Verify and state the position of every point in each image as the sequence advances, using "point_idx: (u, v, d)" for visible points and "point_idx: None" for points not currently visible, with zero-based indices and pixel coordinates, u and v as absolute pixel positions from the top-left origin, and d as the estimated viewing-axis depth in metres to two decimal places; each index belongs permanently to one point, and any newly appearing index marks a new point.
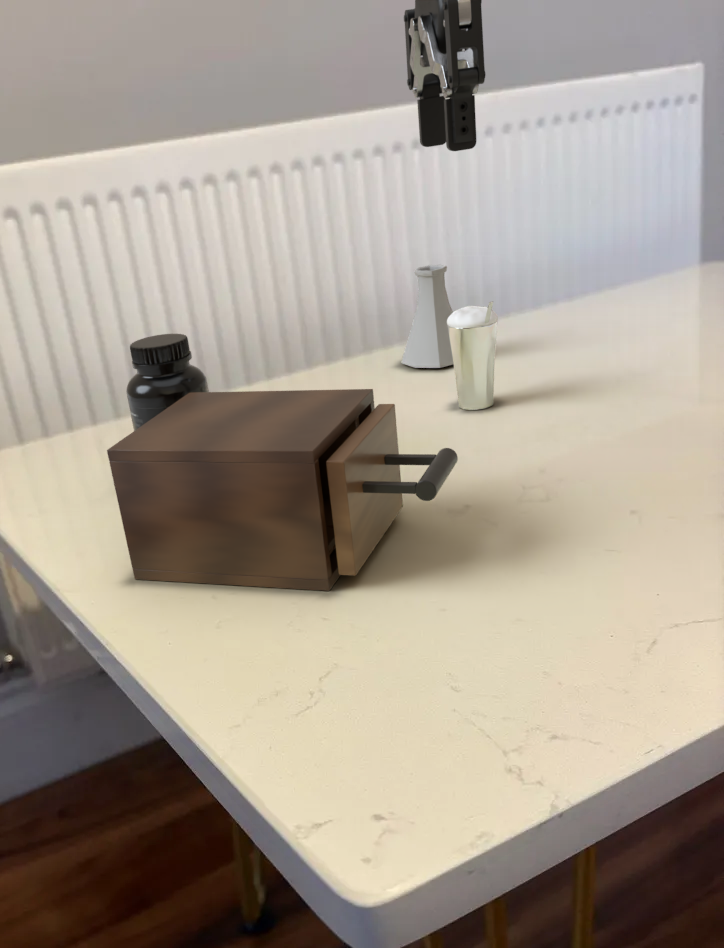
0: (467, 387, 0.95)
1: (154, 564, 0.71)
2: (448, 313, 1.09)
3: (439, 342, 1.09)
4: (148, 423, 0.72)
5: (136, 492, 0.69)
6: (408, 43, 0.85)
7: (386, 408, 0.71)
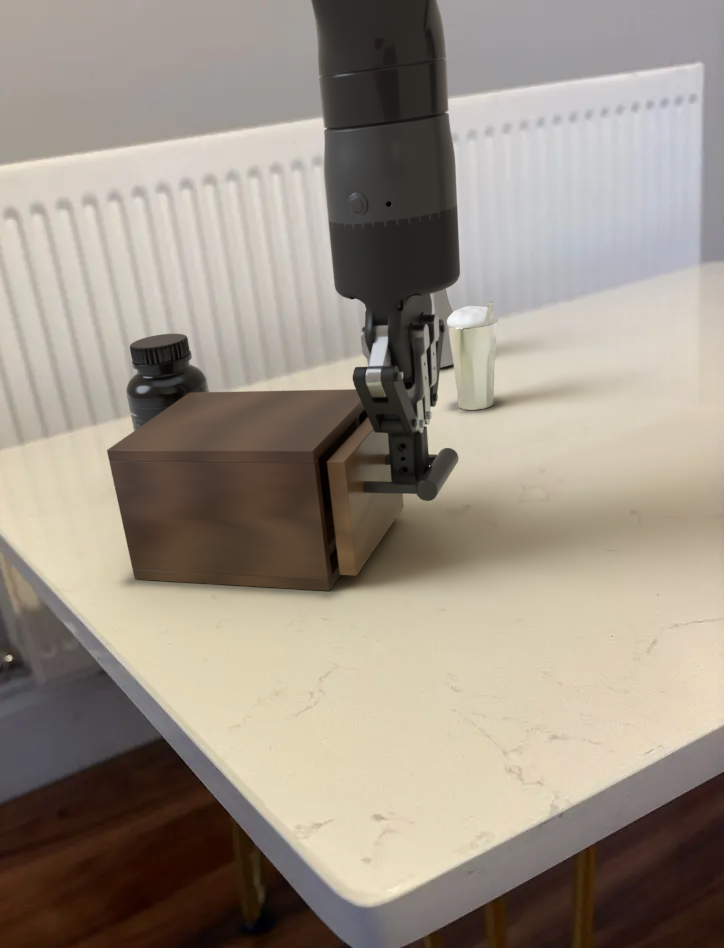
0: (467, 387, 0.95)
1: (154, 564, 0.71)
2: (448, 313, 1.09)
3: None
4: (148, 423, 0.72)
5: (136, 492, 0.69)
6: None
7: None
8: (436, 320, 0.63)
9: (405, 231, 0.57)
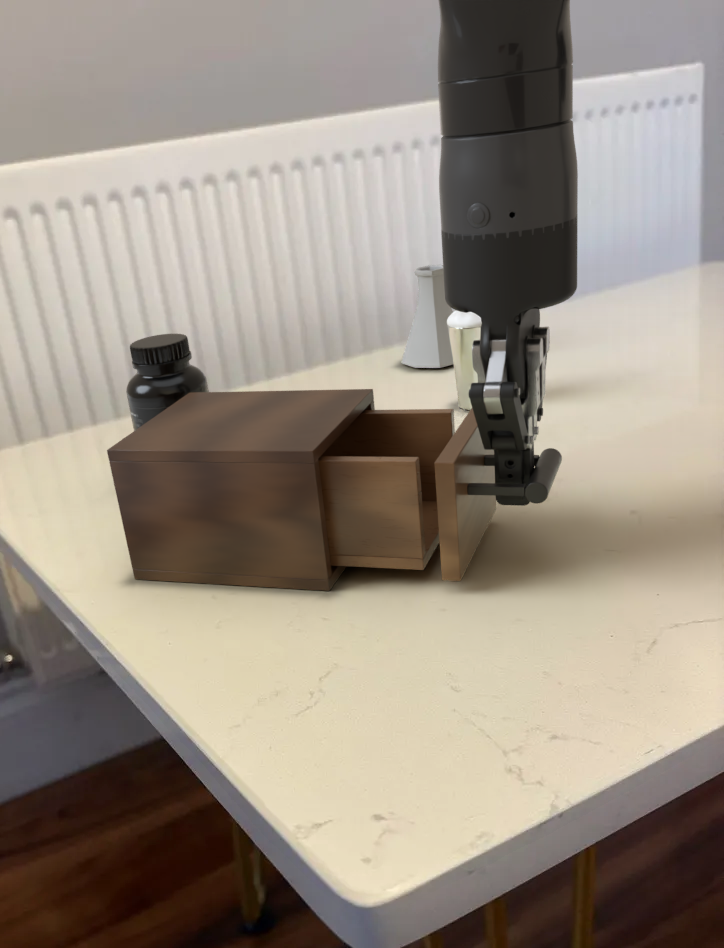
0: (467, 387, 0.95)
1: (154, 564, 0.71)
2: (448, 313, 1.09)
3: (438, 342, 1.09)
4: (148, 423, 0.72)
5: (136, 492, 0.69)
6: None
7: None
8: (548, 333, 0.61)
9: (528, 243, 0.55)
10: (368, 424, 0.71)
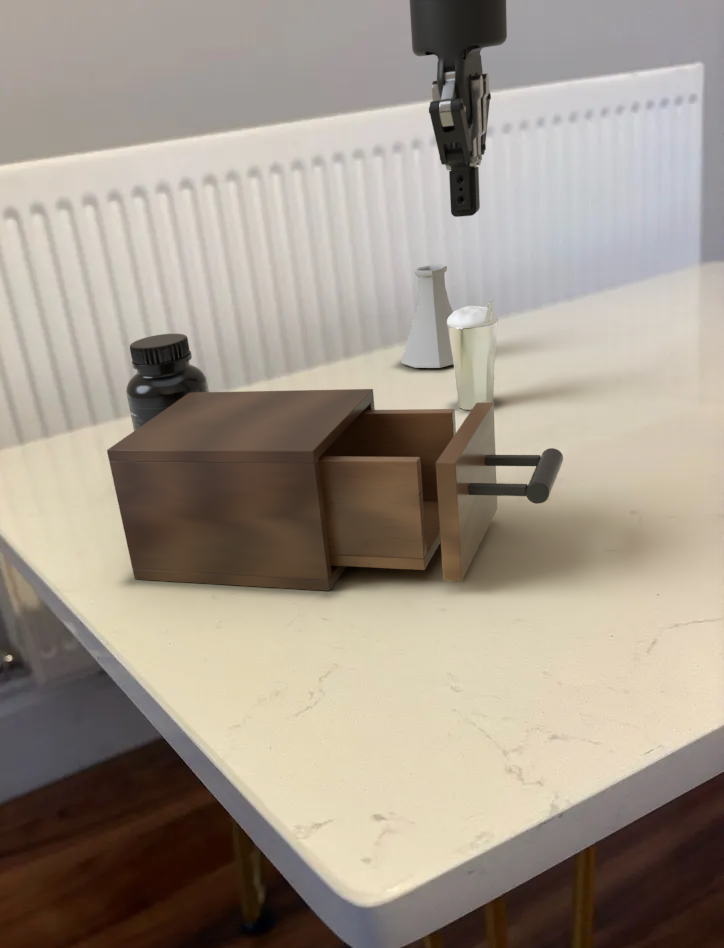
0: (467, 387, 0.95)
1: (154, 564, 0.71)
2: (448, 313, 1.09)
3: (439, 342, 1.09)
4: (148, 423, 0.72)
5: (136, 492, 0.69)
6: None
7: (486, 406, 0.68)
8: (487, 78, 0.84)
9: None
10: (369, 424, 0.71)
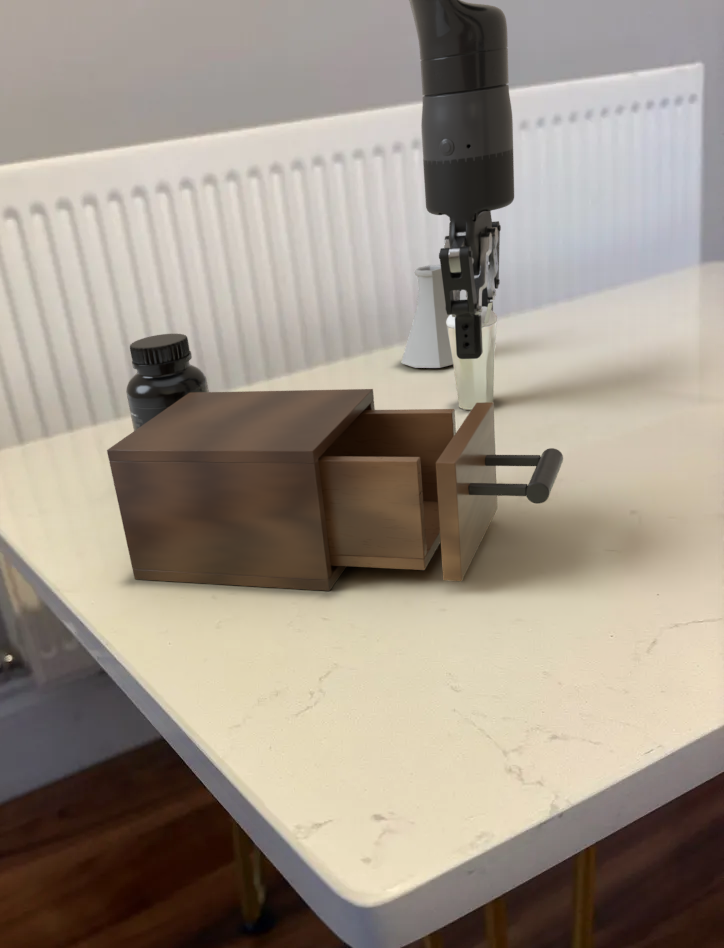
0: (467, 387, 0.95)
1: (154, 564, 0.71)
2: None
3: (439, 342, 1.09)
4: (148, 423, 0.72)
5: (136, 492, 0.69)
6: None
7: (486, 406, 0.68)
8: (496, 232, 0.90)
9: (479, 165, 0.84)
10: (369, 424, 0.71)
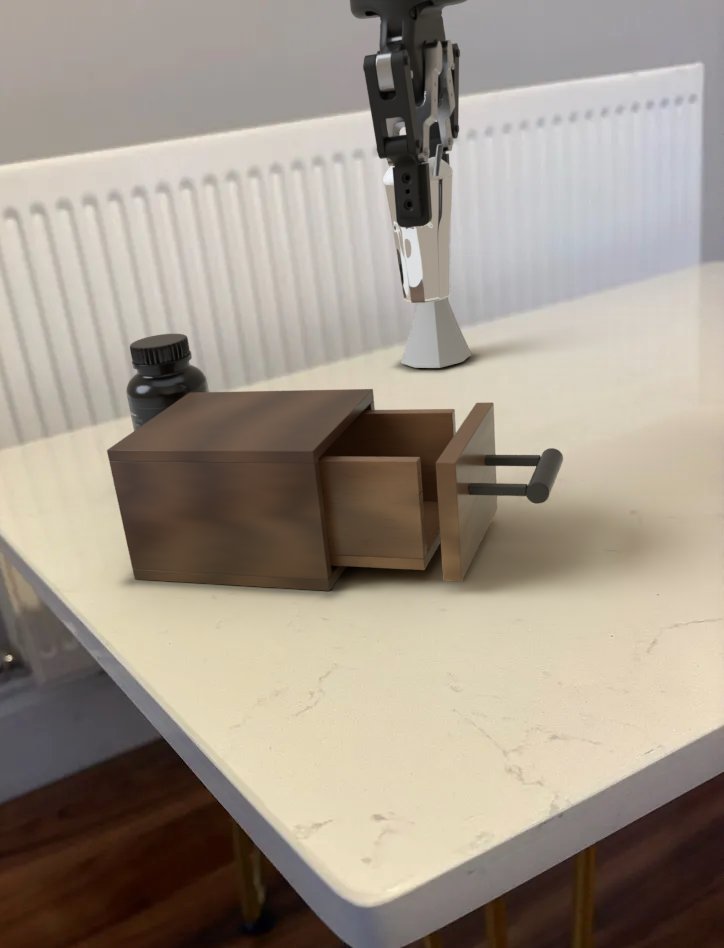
0: (413, 271, 0.70)
1: (154, 564, 0.71)
2: (448, 313, 1.09)
3: (439, 342, 1.09)
4: (148, 423, 0.72)
5: (136, 492, 0.69)
6: None
7: (486, 406, 0.68)
8: (449, 46, 0.65)
9: None
10: (369, 424, 0.71)
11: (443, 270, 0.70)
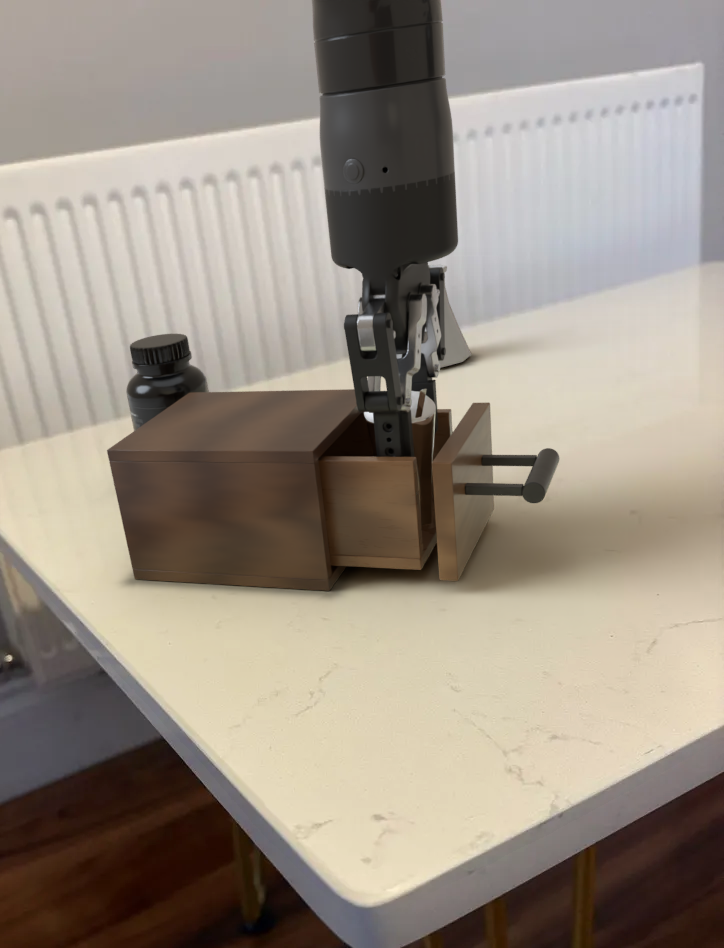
0: None
1: (154, 564, 0.71)
2: (448, 313, 1.09)
3: None
4: (148, 423, 0.72)
5: (136, 492, 0.69)
6: None
7: (482, 406, 0.68)
8: (434, 291, 0.62)
9: (402, 197, 0.56)
10: None
11: (425, 503, 0.67)
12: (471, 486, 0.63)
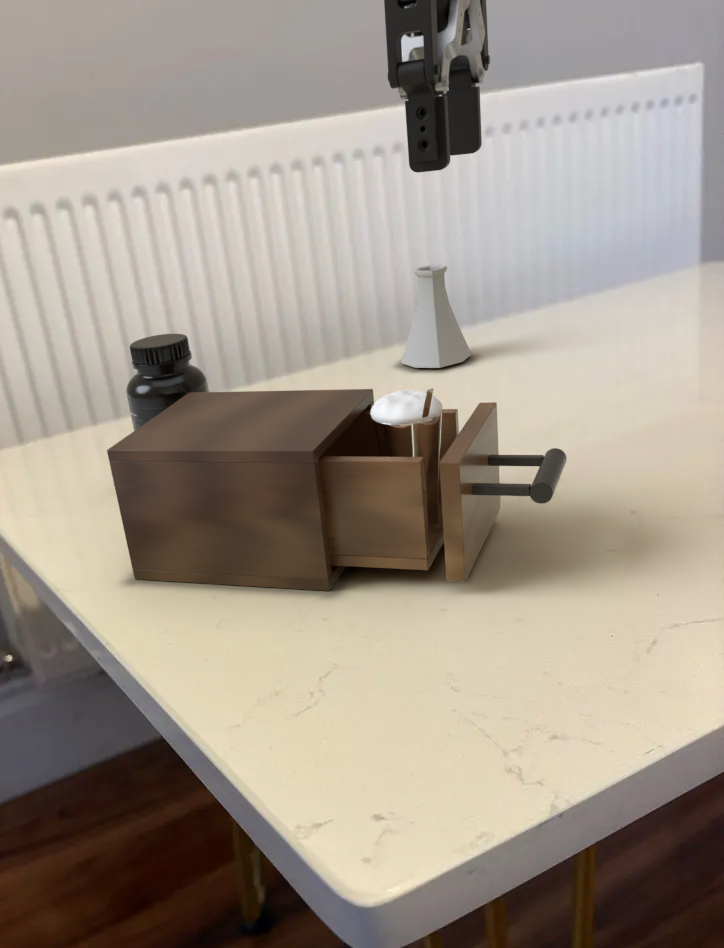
0: None
1: (154, 564, 0.71)
2: (448, 313, 1.09)
3: (439, 342, 1.09)
4: (148, 423, 0.72)
5: (136, 492, 0.69)
6: None
7: (489, 406, 0.68)
8: None
9: None
10: (372, 424, 0.71)
11: (432, 503, 0.67)
12: (478, 486, 0.63)
